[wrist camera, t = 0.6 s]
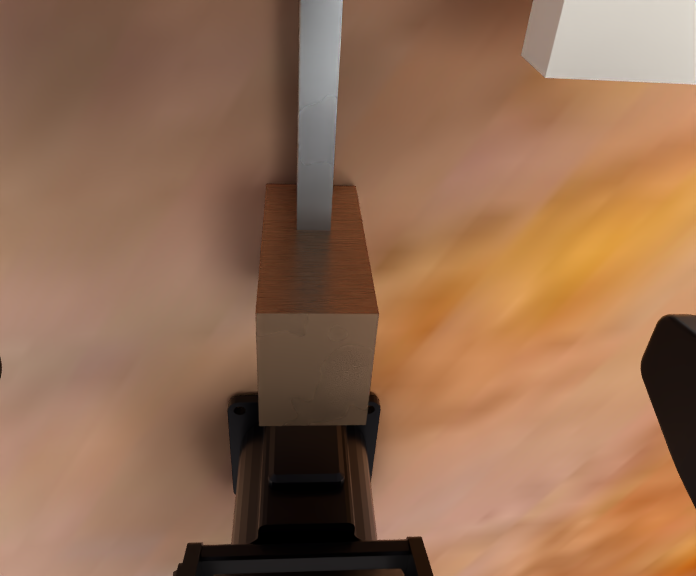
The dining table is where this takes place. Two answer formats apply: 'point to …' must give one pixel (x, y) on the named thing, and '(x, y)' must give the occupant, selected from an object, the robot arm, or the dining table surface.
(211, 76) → the dining table surface
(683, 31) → the low stand
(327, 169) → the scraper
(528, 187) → the dining table surface
